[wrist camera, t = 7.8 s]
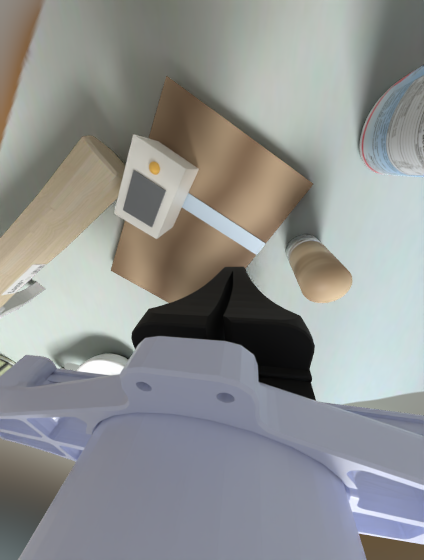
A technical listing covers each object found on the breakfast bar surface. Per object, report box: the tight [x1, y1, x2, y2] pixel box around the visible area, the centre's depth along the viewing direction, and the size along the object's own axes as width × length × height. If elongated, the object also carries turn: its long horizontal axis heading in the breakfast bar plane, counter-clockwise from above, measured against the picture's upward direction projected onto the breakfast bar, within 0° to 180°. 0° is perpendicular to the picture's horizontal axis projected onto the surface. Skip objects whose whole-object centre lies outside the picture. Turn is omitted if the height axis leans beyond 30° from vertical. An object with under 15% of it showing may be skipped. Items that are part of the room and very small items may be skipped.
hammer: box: [0, 135, 125, 318], centre depth 20 cm, size 16×5×30 cm
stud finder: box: [114, 134, 199, 239], centre depth 16 cm, size 4×6×4 cm, turn 150°
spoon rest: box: [60, 354, 128, 375], centre depth 37 cm, size 24×12×7 cm, turn 116°
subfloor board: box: [111, 76, 313, 303], centre depth 20 cm, size 14×20×1 cm
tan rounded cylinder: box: [286, 234, 352, 303], centre depth 17 cm, size 3×3×7 cm
